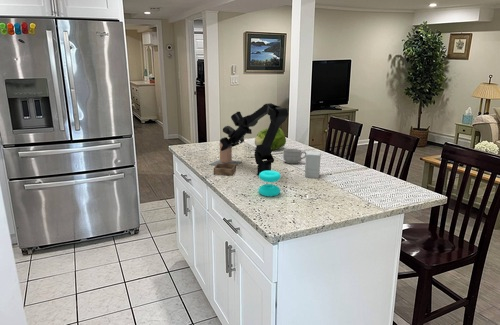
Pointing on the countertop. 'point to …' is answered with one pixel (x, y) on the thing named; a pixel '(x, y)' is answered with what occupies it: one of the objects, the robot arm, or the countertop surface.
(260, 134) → the lettuce
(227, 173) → the wooden frame
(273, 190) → the donuts
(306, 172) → the supplement box
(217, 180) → the countertop surface
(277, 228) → the countertop surface
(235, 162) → the rubber mat
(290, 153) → the teacup
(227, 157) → the terracotta block
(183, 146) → the countertop surface
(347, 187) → the countertop surface
